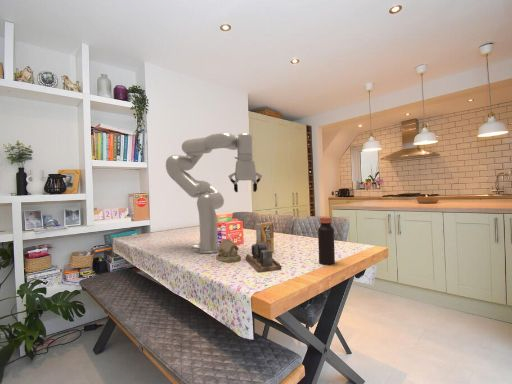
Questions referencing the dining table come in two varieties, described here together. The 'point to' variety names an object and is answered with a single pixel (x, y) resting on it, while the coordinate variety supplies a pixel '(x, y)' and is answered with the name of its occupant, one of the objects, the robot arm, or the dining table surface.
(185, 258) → the dining table surface
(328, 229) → the bottle
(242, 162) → the robot arm
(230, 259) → the ceramic model
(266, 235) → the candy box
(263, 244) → the finger block
